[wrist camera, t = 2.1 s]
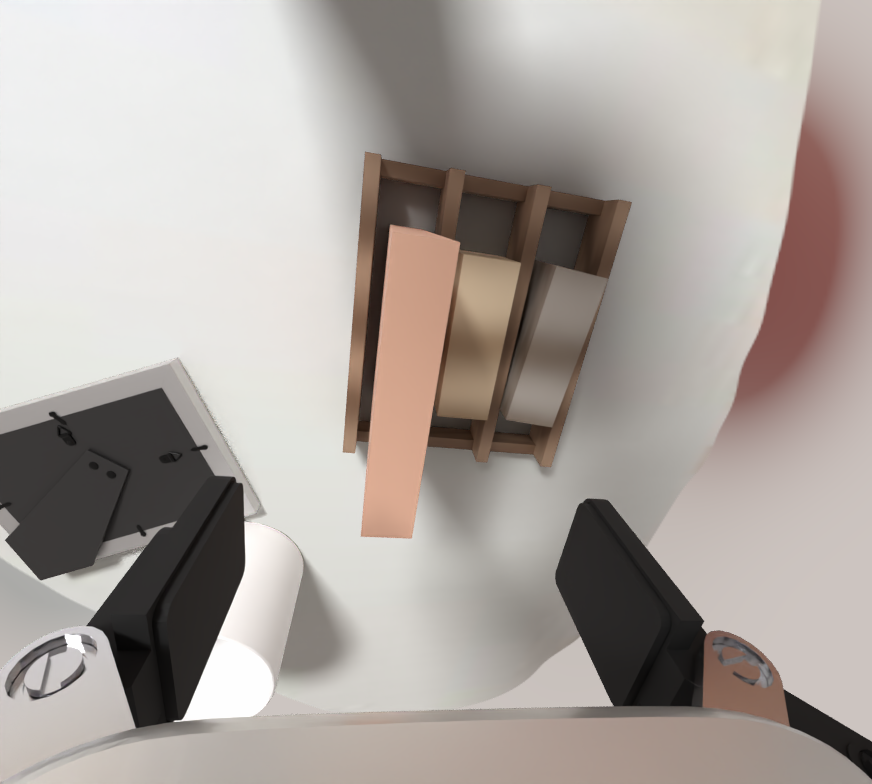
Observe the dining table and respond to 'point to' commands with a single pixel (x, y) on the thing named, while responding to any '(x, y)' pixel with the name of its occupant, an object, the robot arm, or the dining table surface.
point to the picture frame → (106, 466)
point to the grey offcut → (549, 341)
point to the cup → (252, 630)
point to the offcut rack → (522, 248)
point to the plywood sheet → (406, 375)
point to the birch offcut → (475, 334)
